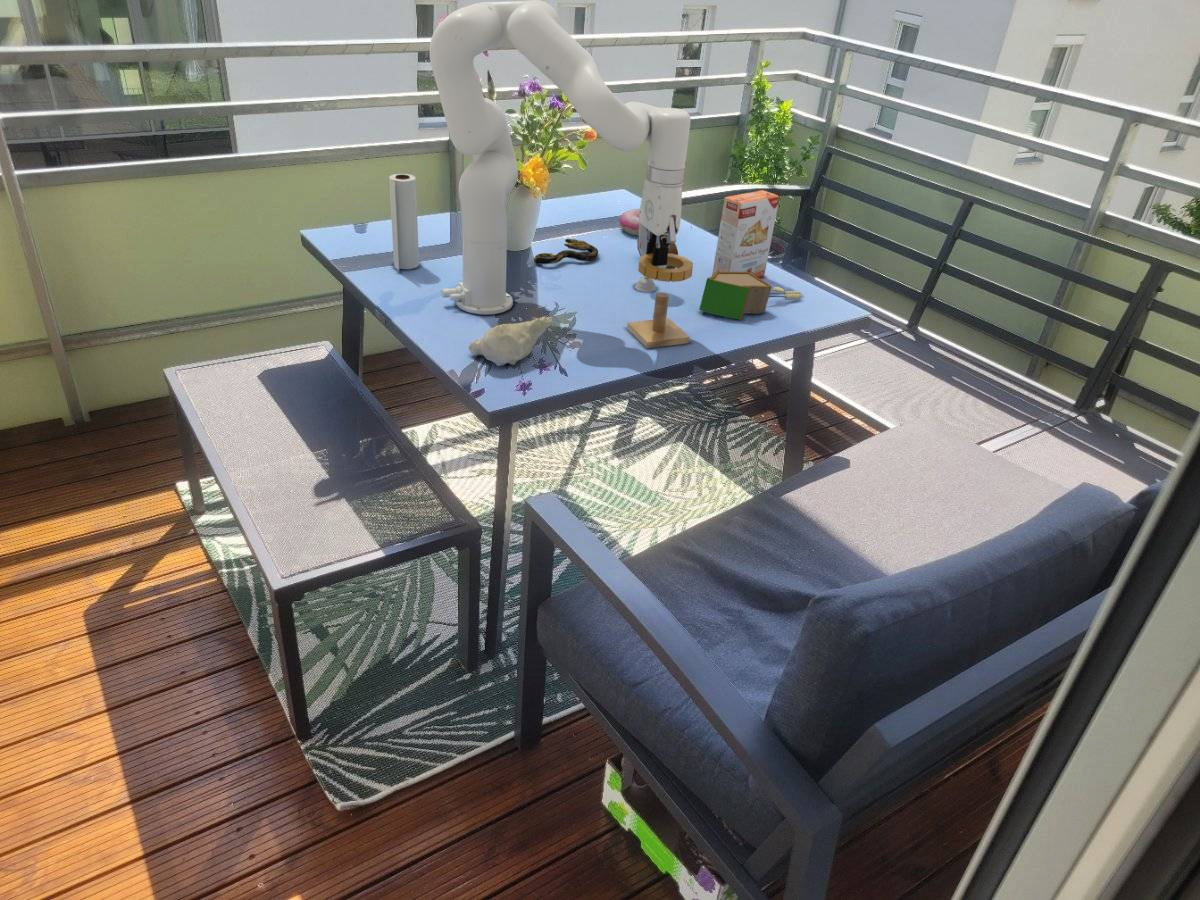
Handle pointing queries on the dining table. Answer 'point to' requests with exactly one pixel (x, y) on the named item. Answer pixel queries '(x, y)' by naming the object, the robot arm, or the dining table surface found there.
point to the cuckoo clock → (738, 294)
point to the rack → (658, 327)
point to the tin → (671, 250)
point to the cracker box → (746, 233)
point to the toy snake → (569, 253)
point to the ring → (662, 274)
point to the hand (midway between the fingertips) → (656, 261)
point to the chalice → (645, 282)
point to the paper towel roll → (404, 221)
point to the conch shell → (510, 341)
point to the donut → (630, 221)
